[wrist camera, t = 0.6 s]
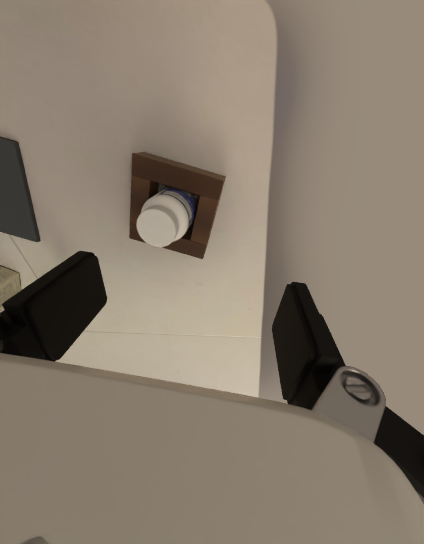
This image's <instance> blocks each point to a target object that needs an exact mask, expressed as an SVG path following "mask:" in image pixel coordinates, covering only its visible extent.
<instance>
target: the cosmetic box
mask: <svg viewBox="0 0 424 544" xmlns="http://www.w3.org/2000/svg"><path fill="white" fill-rule="evenodd" d="M20 291H21V287H20V279H19V274H18V273H17V272H14V271H12V270H9V269H7V268H4V267H1V266H0V310H1V309H3V306H2V303H3V302H5V301H6V300H8V299H9V298H11V297H12V296H14V295H15V294H17V293H18V292H20Z"/></svg>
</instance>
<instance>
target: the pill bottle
mask: <svg viewBox="0 0 424 544" xmlns="http://www.w3.org/2000/svg"><path fill="white" fill-rule="evenodd" d="M196 212H197V203H196V200H195V198H194V196H193V194H192V193H191V192H188V191H184V190H181V189H178V188H174V187H171V186H169V187H167V188H165V189H163V190H162V191H161V192H159V193H158V194H156V195H154V196H153V197H151V198H150V199H148V200H147V201H146V202H145V204H144V205H143V207H142V210H141V214H140V215H139V217H138V219H137V230H138V233H139V235H140V237H141V238H142V239H143V240H144V241H145V242H146V243H148V244H149V245H152V246H154V247H165V246H167V245H169V244H171V243H172V242H173V241H176V240H178V239H180V238H181V237H182V236H183V235H184V234H185V233H186V231H187V229H188V227H189V226H190V224H191V222H192V221H193V219H194V217H195V215H196Z"/></svg>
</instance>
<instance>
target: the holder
mask: <svg viewBox="0 0 424 544" xmlns="http://www.w3.org/2000/svg"><path fill="white" fill-rule="evenodd" d="M225 178H226V177H225V176H222V175H219V174H215V173H212V172H209V171H206V170H202V169H199V168H196V167H192V166H189V165H186V164H183V163H179V162H176V161H173V160H169V159H166V158H163V157H159V156H156V155H153V154H150V153H146V152H140V153H133V154H132V181H131V207H130V235H129V238H131V239H134V240H138V241H141V242H145V241H144V240H143V239H142V238H141V237H140V235H139V233H138V230H137V219H138V217H139V215H140V214H141V210H142V207H143V205H144V204H145V202H146V201H147V200H148V199H150V198H151V197H153V196H154V195H156V194H158V187H159V183H161V184H164V185H167V186H171V187H174V188H178V189H181V190H184V191H188V192H191V193H194V194H198V195H200V198H199V203H198V207H197V212H196V216H195V221H194V226H193V230H192V231H191V230H188V229H187V231H186V233H185V234H184V235H183V236H182V237H181V238H180V239H178V240H176V241H173V242H172V243H171V244H169V245H167V246H165V247H162V248H166V249H169V250H173V251H176V252H180V253H183V254H187V255H190V256H194V257H197V258H201V259H203V257H204V254H205V251H206V248H207V244H208V240H209V237H210V233H211V229H212V226H213V222H214V218H215V215H216V211H217V207H218V204H219V200H220V196H221V193H222V189H223V185H224V182H225ZM145 243H146V242H145Z"/></svg>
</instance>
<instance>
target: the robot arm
mask: <svg viewBox="0 0 424 544" xmlns="http://www.w3.org/2000/svg"><path fill="white" fill-rule="evenodd" d="M106 302H107V296H106V291H105V287H104V283H103V278H102V274H101V270H100V266H99V261H98V258H97V256H95V255H94V253H92V252H85V251H79V252H77V253H75V254H74V255H72V256H71V257H69V258H68V259H67V260H65V261H64V262H62V263H61V264H59V265H58V266H56V267H55V268H53V269H52V270H50V271H49V272H47V273H46V274H45V275H43V276H42V277H40V278H39V279H37V280H36V281H34V282H33V283H31V284H30V285H28V286H27V287H25V288H24V289H23V290H21V291H20V292H18V293H17V294H15V295H14V296H12V297H11V298H9V299H8V300H6V301H5V302H3V303H2V306H3V308H4V309H5V310H4V311H3V312H1V313H0V544H424V435H422V434H421V433H420V432H418V431H417V430H416V429H415V428H413V427H412V426H411V425H409V424H408V423H407V422H406V421H404V420H403V419H402V418H400V417H399V416H398V415H397V414H395V413H394V412H393V411H391V410H390V409H389V408H388V407H386V406H385V405H386V398H385V395H384V392H383V391H382V389H381V388H380V386H379V385H378V384H377V383H376V382H375V380H374V379H373V378H371V377H370V376H369V375H368V374H366V373H365V372H363V371H361V370H359V369H357V368H354V367H350V366H346V365H345V363H344V361H343V359H342V357H341V355H340V353H339V350H338V348H337V346H336V344H335V342H334V339H333V337H332V335H331V333H330V331H329V329H328V326H327V324H326V322H325V320H324V318H323V316H322V315H321V314H319V312H318V310H317V308H316V305H315V303H314V301H313V299H312V297H311V294H310V292H309V290H308V288H307V285H306V284H304V283H298V282H292V283H291V284H287V286H286V289H285V291H284V295H283V297H282V300H281V302H280V305H279V308H278V311H277V314H276V317H275V319H274V322H273V325H272V332H273V339H274V345H275V351H276V358H277V364H278V371H279V377H280V383H281V389H282V395H283V399H284V400H287V402H288V404H286V403H281V402H276V401H272V400H266V399H261V398H257V397H251V396H246V395H241V394H236V393H231V392H225V391H220V390H214V389H208V388H203V387H197V386H192V385H186V384H181V383H175V382H169V381H164V380H158V379H152V378H147V377H141V376H135V375H129V374H124V373H118V372H112V371H106V370H101V369H95V368H89V367H83V366H77V365H71V364H65V363H59V362H55V361H56V360H59V359H60V358H61V357H62V356H63V355H64V354H65V352H66V351H67V350H68V349H69V348H70V346H71V345H72V344H73V343H74V342H75V340H76V339H77V338H78V337H79V336H80V334H81V333H82V332H83V331H84V330H85V328H86V327H87V326H88V325H89V324H90V322H91V321H92V320H93V319H94V318H95V316H96V315H97V314H98V313H99V312H100V310H101V309H102V308H103V307H104V305H105V304H106Z"/></svg>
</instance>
